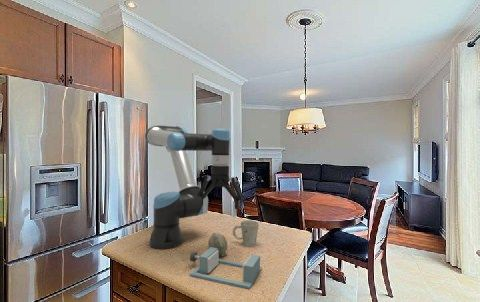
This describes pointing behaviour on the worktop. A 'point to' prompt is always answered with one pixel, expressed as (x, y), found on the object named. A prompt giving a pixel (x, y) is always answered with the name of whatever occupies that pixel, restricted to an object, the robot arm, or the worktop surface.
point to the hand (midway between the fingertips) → (219, 214)
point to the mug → (248, 232)
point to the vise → (249, 268)
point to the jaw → (206, 260)
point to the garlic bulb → (218, 243)
